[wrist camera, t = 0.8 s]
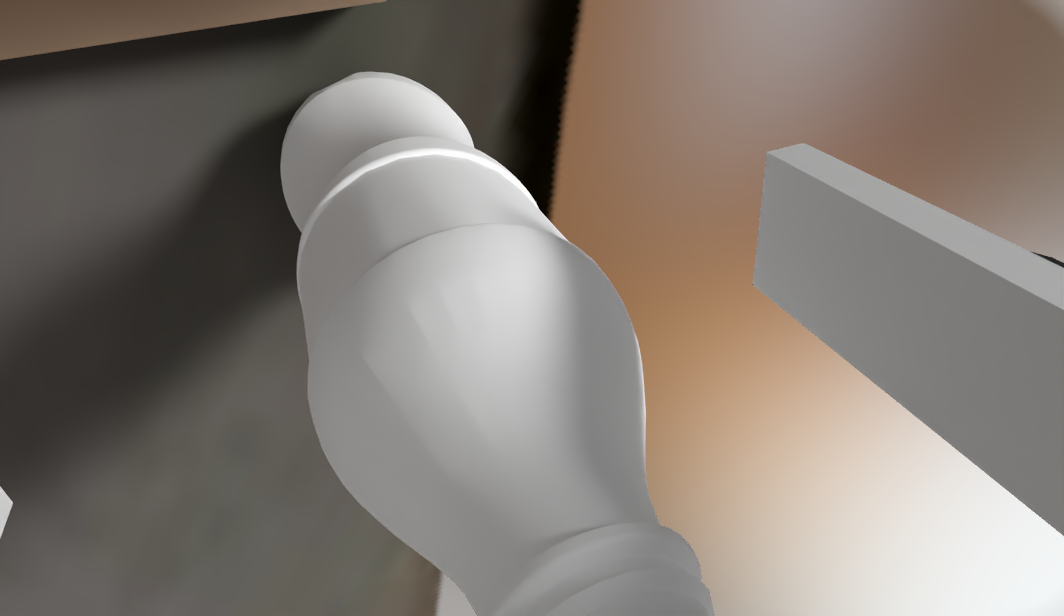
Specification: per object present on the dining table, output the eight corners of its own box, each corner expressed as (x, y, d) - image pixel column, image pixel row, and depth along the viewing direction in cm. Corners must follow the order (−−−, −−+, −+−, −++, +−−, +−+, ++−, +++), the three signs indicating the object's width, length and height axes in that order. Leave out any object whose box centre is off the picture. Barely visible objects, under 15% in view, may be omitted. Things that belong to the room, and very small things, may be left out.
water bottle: (486, 149, 30) (967, 666, 10) (370, 259, 31) (602, 947, 11) (368, 17, 26) (789, 451, 6) (236, 147, 27) (207, 936, 7)
